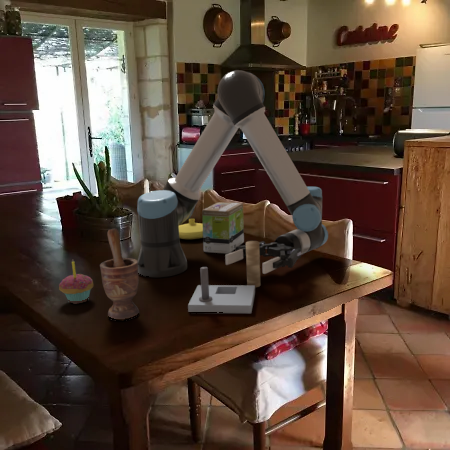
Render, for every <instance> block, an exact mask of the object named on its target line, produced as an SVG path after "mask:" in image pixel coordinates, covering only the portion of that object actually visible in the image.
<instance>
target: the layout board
mask: <svg viewBox="0 0 450 450" xmlns="http://www.w3.org/2000/svg"><path fill="white" fill-rule="evenodd" d="M199 269H200V270H199V272H200V284H198V285H197V286H196V288H195V290H194V293H193V294H192V297H191V298H190V300H189V303H188V304H187V309H188V310H187V313H188V312H217V313H216V314H220V313H219V312H223V313H222V314H252V313H253V312H252V311H253V306H254V302H255V295H256V287H255V285H247V284H245V285H241V284H240V285H239V284H237V285H234V284H233V285H231V284H230V285H229V284H228V285H227V284H226V285H224V284H223V285H222V284H221V285H220V284H219V285H218V284H217V285H216V284H214V285H213V284H212V285H211V284H209V283H210V282H209V270H208V269H209V268H208V267H207V266H202V267H200V268H199Z"/></svg>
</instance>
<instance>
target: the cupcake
mask: <svg viewBox="0 0 450 450" xmlns="http://www.w3.org/2000/svg"><path fill="white" fill-rule="evenodd" d="M71 267H72V274H70V275H67V276H66V277H64V278H63V279H61V281H60V282H59V283H58V286H59V288H58V290H59V291H60V292H62V293H63V294H64V295H65V297H66V299H67V301H68V300H70V301H82V300H85V299H87V298H88V297H90V293H91V290H92V288H94V280H93V279H92V277H90V276H89V275H86V274H82V273H77V271H76V264H75V261H74V259H72V260H71ZM88 299H89V298H88Z"/></svg>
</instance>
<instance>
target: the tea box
mask: <svg viewBox="0 0 450 450" xmlns="http://www.w3.org/2000/svg"><path fill="white" fill-rule="evenodd" d="M201 210H202V211H201V212H202V215H201V216H202V219H201V220H202V224H203V238H202V245H203V246H202V247H203V252H205V253H213V254H214V253H215V254H216V253H217V254H229V253H232V252H234V250H236V247H237V246H241V245H242V244H243V243H244V242H245V234H244V233H245V232H244V230H245V229H244V226H245V225H244V203H243V202H223V201H222V202H221V201H220V202H219V201H218V202H216V203H213V204H211V205H210V206H208V207H205V208H203V209H201Z"/></svg>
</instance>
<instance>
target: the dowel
mask: <svg viewBox="0 0 450 450" xmlns="http://www.w3.org/2000/svg"><path fill="white" fill-rule="evenodd" d="M259 242H260V241H258V240H247V241H246V242H245V245H246V257H245V259H246V261H245V262H246V285H255V288H259V287H260V286H261V268H260V267H261V256H260V251H259Z"/></svg>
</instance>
